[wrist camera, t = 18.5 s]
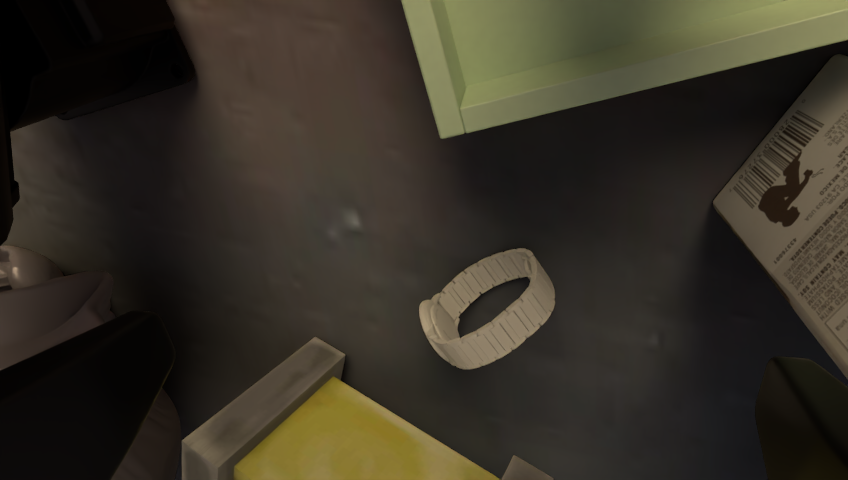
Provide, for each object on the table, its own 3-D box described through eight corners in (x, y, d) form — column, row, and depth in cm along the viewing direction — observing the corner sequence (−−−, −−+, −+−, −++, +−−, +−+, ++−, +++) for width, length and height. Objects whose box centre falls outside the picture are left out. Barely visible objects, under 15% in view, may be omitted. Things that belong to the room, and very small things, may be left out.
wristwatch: (424, 273, 23) (405, 348, 19) (524, 219, 21) (529, 288, 17) (461, 319, 24) (451, 401, 20) (560, 271, 22) (573, 349, 18)
